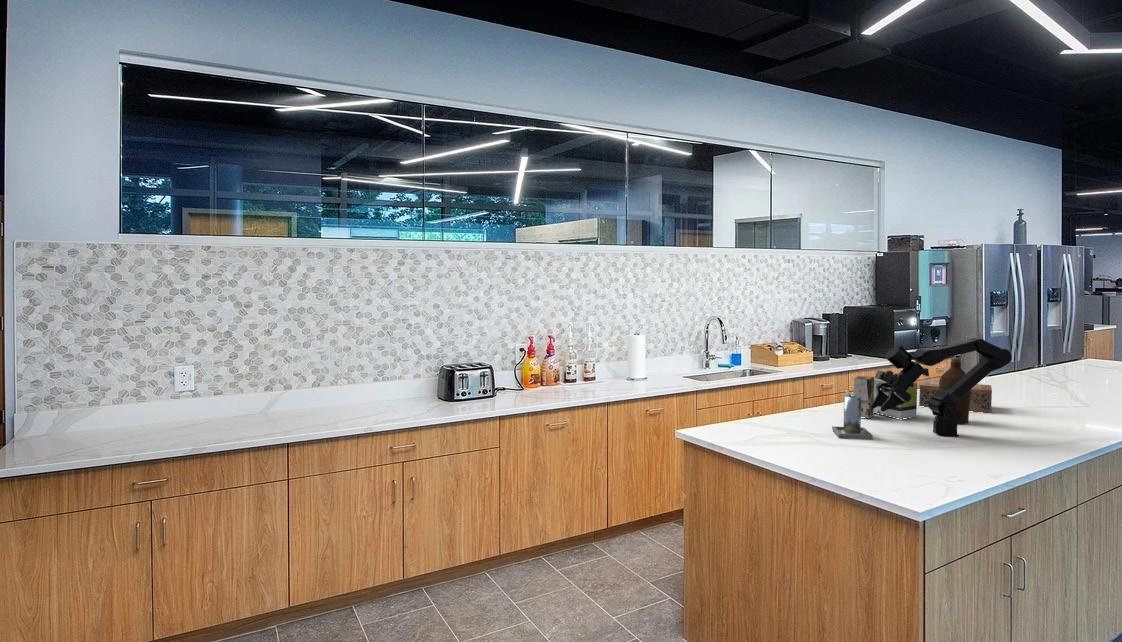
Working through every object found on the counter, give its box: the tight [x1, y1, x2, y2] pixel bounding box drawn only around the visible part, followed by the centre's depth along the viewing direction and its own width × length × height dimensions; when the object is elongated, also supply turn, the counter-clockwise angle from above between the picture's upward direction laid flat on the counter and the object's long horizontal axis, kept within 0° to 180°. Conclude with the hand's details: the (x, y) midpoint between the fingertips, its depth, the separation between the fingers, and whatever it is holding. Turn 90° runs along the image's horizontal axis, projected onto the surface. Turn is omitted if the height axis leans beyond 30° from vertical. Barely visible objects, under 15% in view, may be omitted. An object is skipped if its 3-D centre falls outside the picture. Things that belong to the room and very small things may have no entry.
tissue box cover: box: [918, 379, 993, 414], centre depth 266 cm, size 26×14×10 cm, turn 56°
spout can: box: [843, 389, 862, 434], centre depth 222 cm, size 6×6×16 cm
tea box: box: [874, 378, 918, 419], centre depth 252 cm, size 15×10×15 cm, turn 25°
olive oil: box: [939, 357, 971, 425], centre depth 240 cm, size 11×11×25 cm
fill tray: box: [831, 425, 873, 440], centre depth 223 cm, size 11×11×2 cm
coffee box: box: [852, 375, 875, 419], centre depth 251 cm, size 9×6×16 cm
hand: (876, 409), depth 222 cm, fingers open, 9 cm apart
